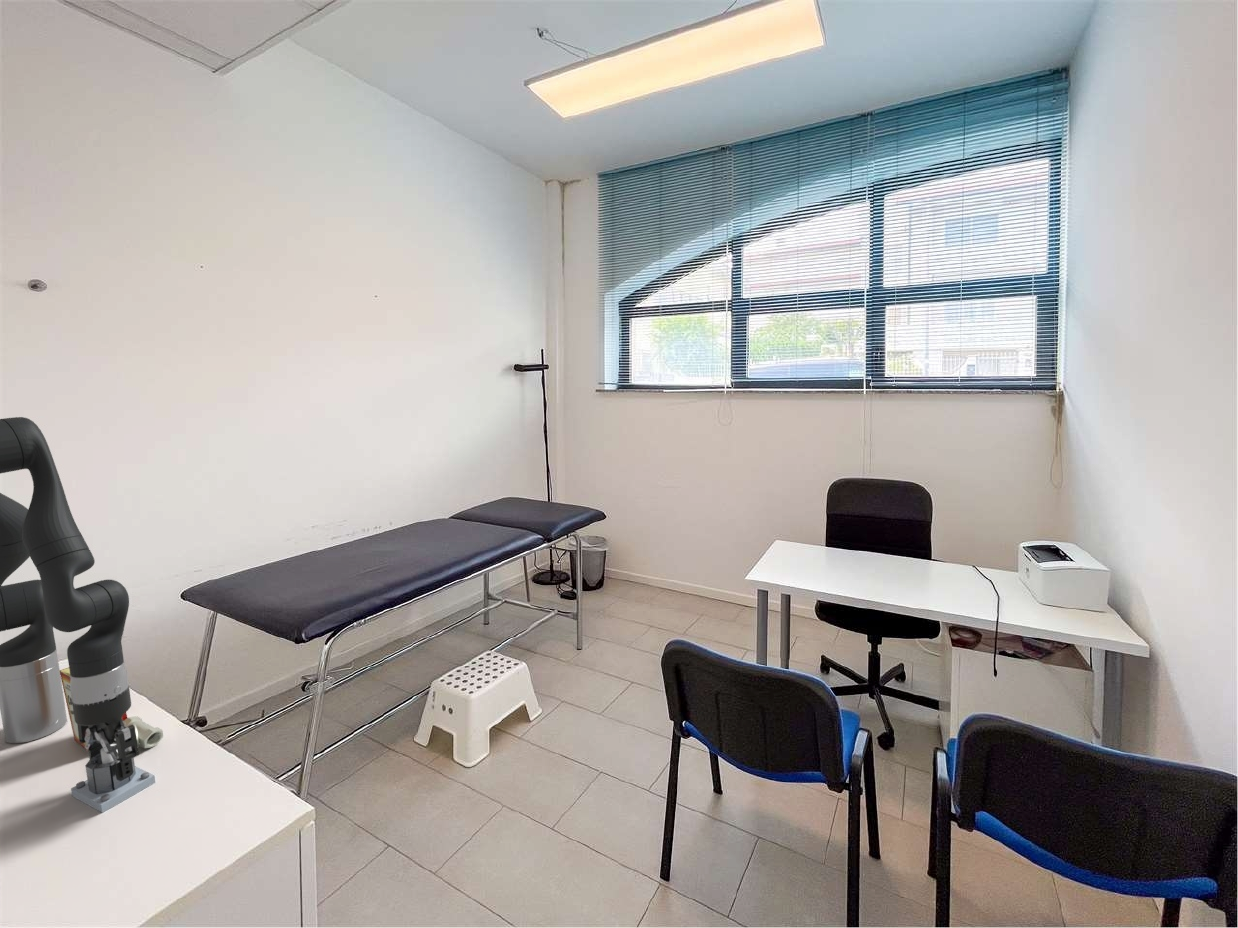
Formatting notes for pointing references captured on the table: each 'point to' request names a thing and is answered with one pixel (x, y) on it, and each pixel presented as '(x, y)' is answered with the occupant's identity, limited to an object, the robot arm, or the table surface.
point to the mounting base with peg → (116, 796)
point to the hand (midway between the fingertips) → (112, 770)
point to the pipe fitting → (145, 732)
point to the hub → (104, 776)
